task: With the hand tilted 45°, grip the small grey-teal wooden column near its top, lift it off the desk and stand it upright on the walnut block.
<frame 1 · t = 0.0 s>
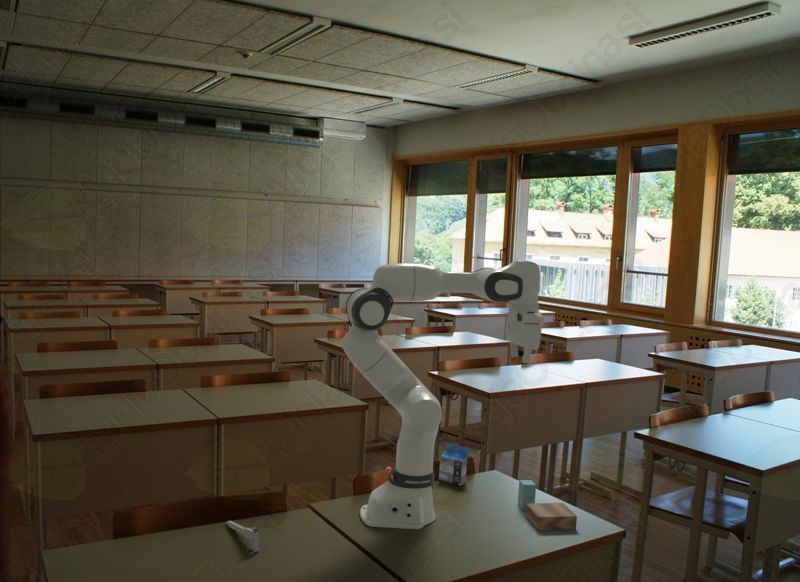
hand: (519, 359, 204), 48 cm above the table, tool pointing down, fingers open, 8 cm apart
teal column: (525, 507, 214), on the table
walnut block: (550, 522, 203), on the table
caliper: (241, 539, 182), on the table
label tape box: (452, 482, 233), on the table
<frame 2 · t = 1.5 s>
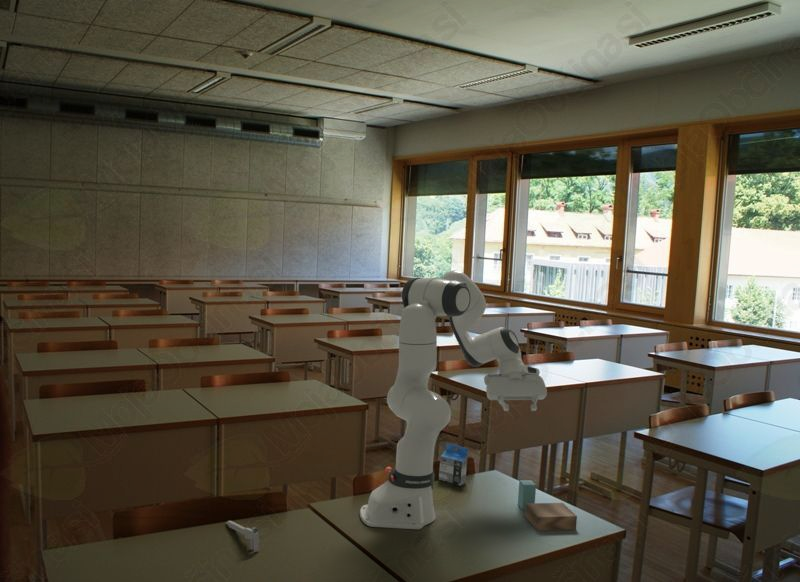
hand: (520, 410, 222), 28 cm above the table, tool tilted 45°, fingers open, 8 cm apart
nothing on the table moved.
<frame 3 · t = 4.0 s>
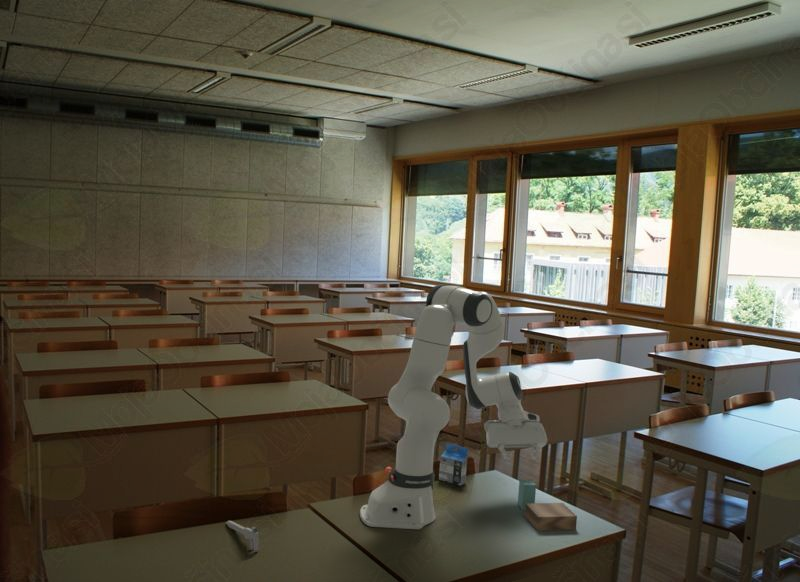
hand: (520, 458, 220), 13 cm above the table, tool tilted 45°, fingers open, 8 cm apart
nothing on the table moved.
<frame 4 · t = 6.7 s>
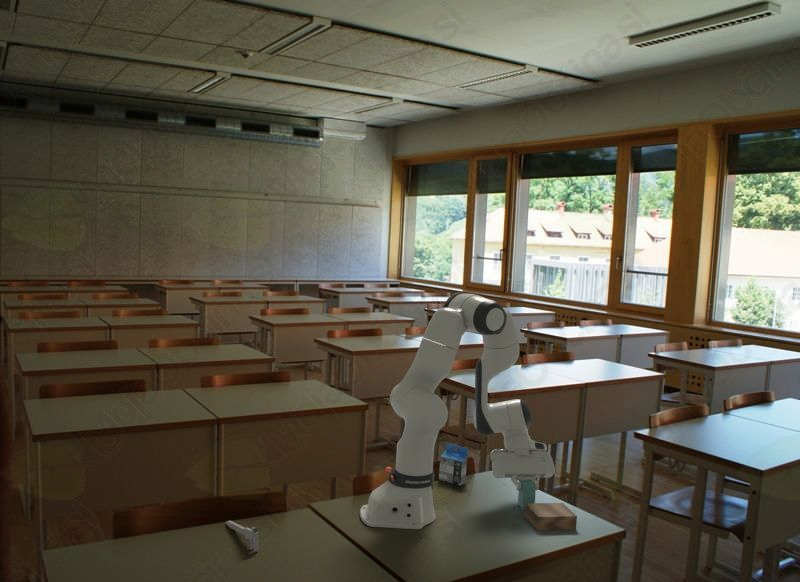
hand: (527, 489, 213), 6 cm above the table, tool tilted 45°, fingers closed on teal column, 4 cm apart
teal column: (525, 507, 214), on the table, touching gripper
everything else where it was.
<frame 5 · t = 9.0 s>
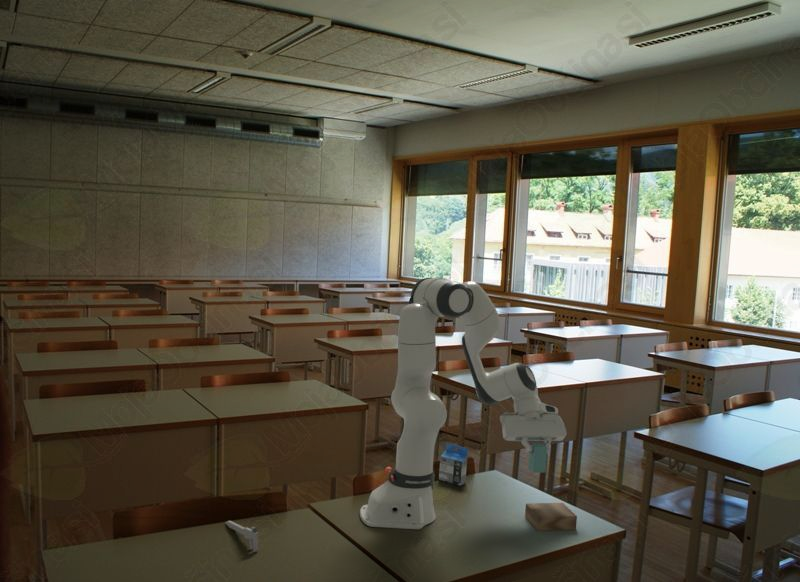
hand: (539, 452, 208), 19 cm above the table, tool tilted 45°, fingers closed on teal column, 4 cm apart
teal column: (536, 470, 209), point 13 cm above the table, touching gripper
everything else where it was.
when the fingers open (11 cm above the table, at t = 11.7 s): teal column drops 1 cm, resting on walnut block.
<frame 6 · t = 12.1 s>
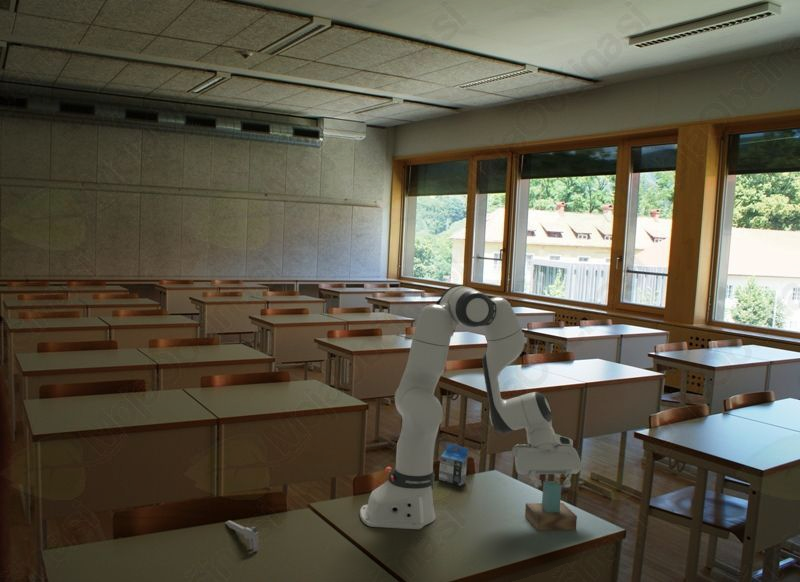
hand: (553, 486, 201), 11 cm above the table, tool tilted 45°, fingers open, 8 cm apart
teal column: (550, 509, 202), point 4 cm above the table, touching walnut block
everything else where it was.
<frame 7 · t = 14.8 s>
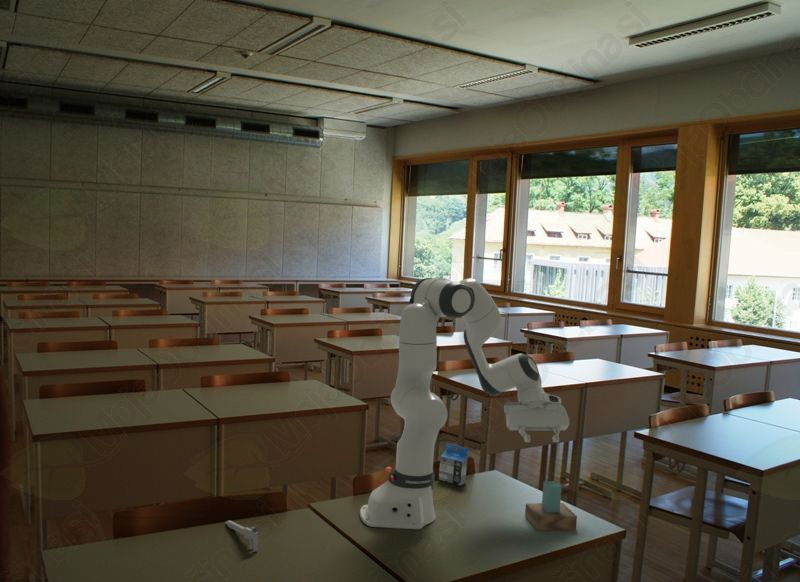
hand: (542, 441, 211), 22 cm above the table, tool tilted 45°, fingers open, 8 cm apart
nothing on the table moved.
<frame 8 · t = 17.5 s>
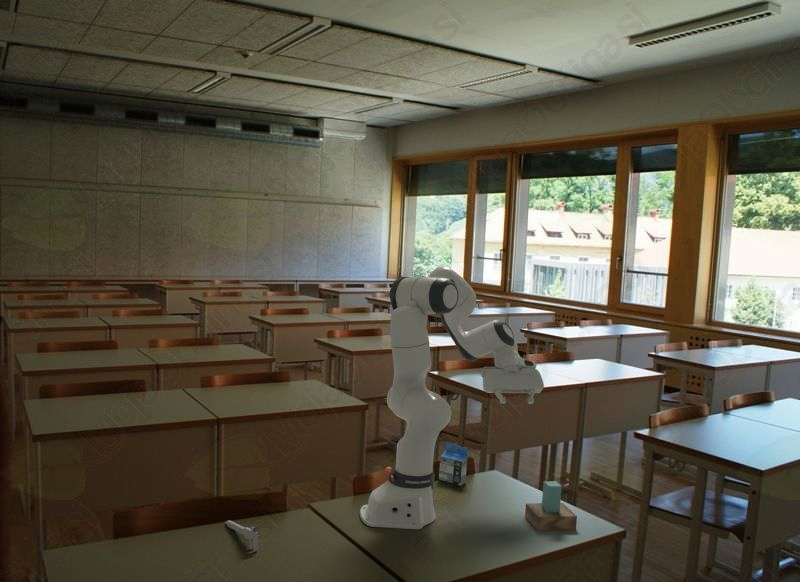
hand: (517, 402, 219), 31 cm above the table, tool tilted 45°, fingers open, 8 cm apart
nothing on the table moved.
at the end: teal column inside the target area on the walnut block (0.1 cm from its centre), point 4.0 cm above the walnut block's base; teal column tilted 0°; the gripper is holding nothing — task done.
